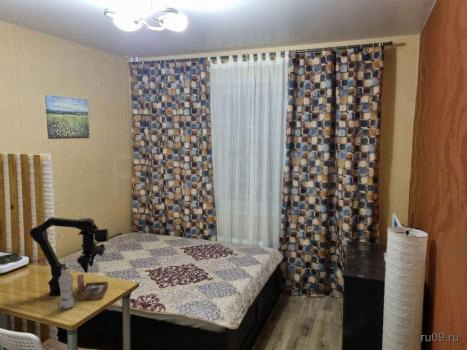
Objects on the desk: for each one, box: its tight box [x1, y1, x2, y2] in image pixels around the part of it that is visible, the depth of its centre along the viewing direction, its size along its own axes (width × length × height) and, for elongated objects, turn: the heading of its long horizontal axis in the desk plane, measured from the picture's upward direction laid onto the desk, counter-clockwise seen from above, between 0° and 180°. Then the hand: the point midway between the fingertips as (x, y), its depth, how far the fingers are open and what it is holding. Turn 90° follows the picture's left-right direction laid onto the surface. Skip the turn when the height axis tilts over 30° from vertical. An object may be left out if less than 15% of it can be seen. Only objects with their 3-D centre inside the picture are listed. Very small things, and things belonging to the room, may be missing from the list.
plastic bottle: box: [58, 267, 75, 310], centre depth 168 cm, size 6×7×20 cm
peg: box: [76, 273, 85, 293], centre depth 187 cm, size 3×3×9 cm
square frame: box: [79, 281, 109, 301], centre depth 183 cm, size 11×13×4 cm
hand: (88, 269), depth 186 cm, fingers open, 9 cm apart
